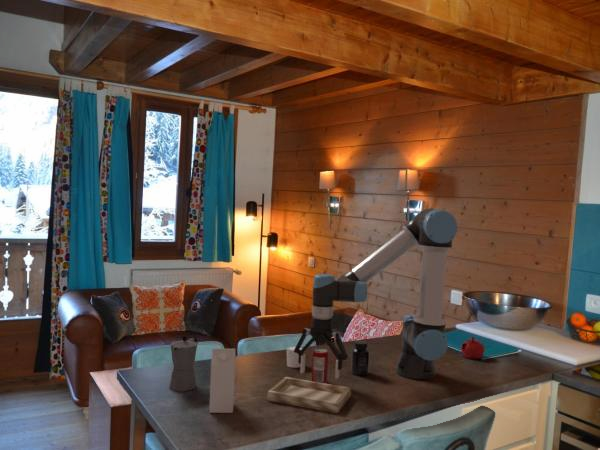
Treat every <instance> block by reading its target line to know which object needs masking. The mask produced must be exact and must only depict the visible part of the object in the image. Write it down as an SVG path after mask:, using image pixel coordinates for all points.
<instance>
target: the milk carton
mask: <svg viewBox="0 0 600 450" xmlns="http://www.w3.org/2000/svg"><path fill="white" fill-rule="evenodd" d="M211 351H212V353H211V359H210V360H211V361H210V362H211V363H210V384H209V387H210V388H209V409H208V410H209V411H208V413H210V414H211V413H213V414H216V413H217V414H218V413H219V414H220V413H221V414H233V412H234V406H235V405H234V404H235V383H236V382H235V381H236V379H235V377H236V348H212V349H211Z"/></svg>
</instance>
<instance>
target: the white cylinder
mask: <svg viewBox="0 0 600 450" xmlns="http://www.w3.org/2000/svg"><path fill="white" fill-rule="evenodd" d="M296 346H297V345H290V346H287V347H285V348H286V366H287V367H289V368H293V369H295V368H296V369H297V368H301V364H300V363H299V362H298V359H299V355H298V354H297V353H294V349H295V347H296ZM302 348H303V347H302V346H301V348H300V349H299V350H301V349H302Z"/></svg>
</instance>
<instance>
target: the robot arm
mask: <svg viewBox="0 0 600 450" xmlns="http://www.w3.org/2000/svg"><path fill="white" fill-rule="evenodd" d="M457 232H458V222H457V219H456V218H455V216H454V215H453V214H452V213H451V212H448V211H447V210H445V209H441V208H437V209H436V208H427V209H423V210H422V211H420V212H418V213H417V214H416V215H415V216H413V217H412V218H411V219H410V220H408V222H407V223H406V224H404V225H402V230H400V231H399V232H398V233H397V234H396V235H394V236H393V237H392V238H390V239H389V240H388V241H387V242H385V243H384V244H382V245H381V246H380V247H379V248H377V249H376V250H375V251H374V252H372V253H371V254H370V255H368V256H367V257H366V258H364V259H363V260H361V262H360V263H358V264H357V265H356V266H354V267H353V268H352V269H350V270H349V271H348V272H346V273H345V274H341V275H339V277H337V279H336V278H335V275H333V274H331V273H330V274H329V273H328V274H327V273H317V274H315V275H314V277H313V283H312V284H313V285H312V305H311V308H312V309H311V310H312V311H311V316H312V317H311V328H308V327H305V328H303V329H302V331H301V332H302V333H301V336H300V338H299V340H298V342H297V344H296V345H295V346H296V347H295V349H294V353H297V354H298V355H299V359H298V362H299V363H300V364H301V367H300V368H299V371H300V374H303V373H305V371H306V354H305V352H306V351H307V350H308V348H309V347H310V346H312V344H313V343H314V342H315V343H321V344H326V346H328V347H329V349H330V350H331V351H332V353H333V355H334V356H335V358H336V360H335V371H334V379H335V380H338V379H339V377H340V370H342V369H343V361H346V360H347V359H348V358H349V356H348V353H347V350H346V348H345V346H344V343H343V340H342V337H341V336H342V335H341V332H340V331H337V332H335V331H334V332H333V318H332V317H333V315H334V302H343V303H345V302H346V303H356V304H357V303H364V302H366V301H367V299H368V298H367V297H368V285H367V283H368V282H370V281H371V280H372V279H373V278H375V277H376V276H377V275H378V274H380V273H381V272H382V271H384V270H385V269H386V268H387V267H389V266H391V265H392V263H394V262H395V261H397V260H399V258H400V257H402V256H403V255H405V254H406V253H407V252H408V251H410V250H411V249H413V247H420V248H421V250H422V253H421V254H422V256H421V268H420V269H421V270H420V280H419V293H418V294H419V295H418V305H417V314H405V315H404V316H403V319H402V334H401V335H402V337H401V338H402V339H401V351H400V352H401V353H400V355H399V358H398V361H397V362H396V367H395V372H396V373H397V375H400V377H404V378H408V379H413V380H431V379H434V378H435V377H436V373H437V371H436V366H435V363H434V361H436V360H439V359H440V358H442V357H443V356H444V355H445V354H446V352H447V350H448V346H449V342H448V338H447V335H446V321H445V320H444V319H443V306H444V292H445V280H446V269H447V260H448V259H447V258H448V252H449V251H450V250H451V249H452V248H453V239H454V238H455V237H456V236H457ZM309 334H310V335H311V337H310V339H309V340H308V342H307V343H305V345H304V346H303V347H302V345H303V344H304V341H305V340H306V338H307V337H308V335H309ZM332 337H334V338H333V339H335V341H336V344H337V346H338V348H337V346H336V345H335V343H334V341H333V339H332ZM301 347H302V349H301V350H299V349H300V348H301Z"/></svg>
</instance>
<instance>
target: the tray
mask: <svg viewBox="0 0 600 450" xmlns="http://www.w3.org/2000/svg"><path fill="white" fill-rule="evenodd" d="M266 394H267V396H266V397H267V399H266V400H267V401H269V402H273V403H274V402H275V403H278V404H279V403H280V404H284V405H290V406H296V407H300V408H306V409H312V410H316V411H317V410H318V411H323V412H328V413H332V414H338V413H340V411H341V410H342V408H344V406H345V404H347V402H348V400H349V399H350V398H351V395H352V387H350V386H349V387H348V386H344V385H343V386H342V385H336V384H331V383H327V382H326V383H320V382H314V381H312V380H306V379H302V378H301V379H300V378H295V377H289V376H284V377H283V378H282V379H281V380H279V382H277V383H276V384H275V385H273V386H272V387H271V388H270V389H269V390H268V391H267V393H266Z"/></svg>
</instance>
